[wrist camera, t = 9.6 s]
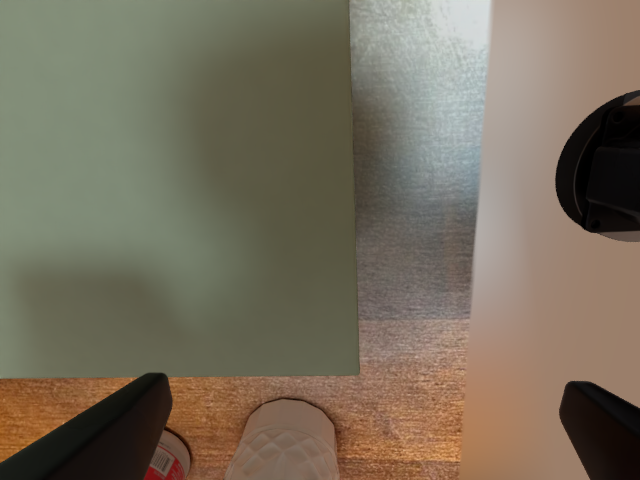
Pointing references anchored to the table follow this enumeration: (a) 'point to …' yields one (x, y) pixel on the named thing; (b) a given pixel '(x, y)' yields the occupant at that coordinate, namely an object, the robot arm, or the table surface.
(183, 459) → the pill bottle
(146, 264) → the cupboard
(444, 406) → the table surface
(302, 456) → the white cup
